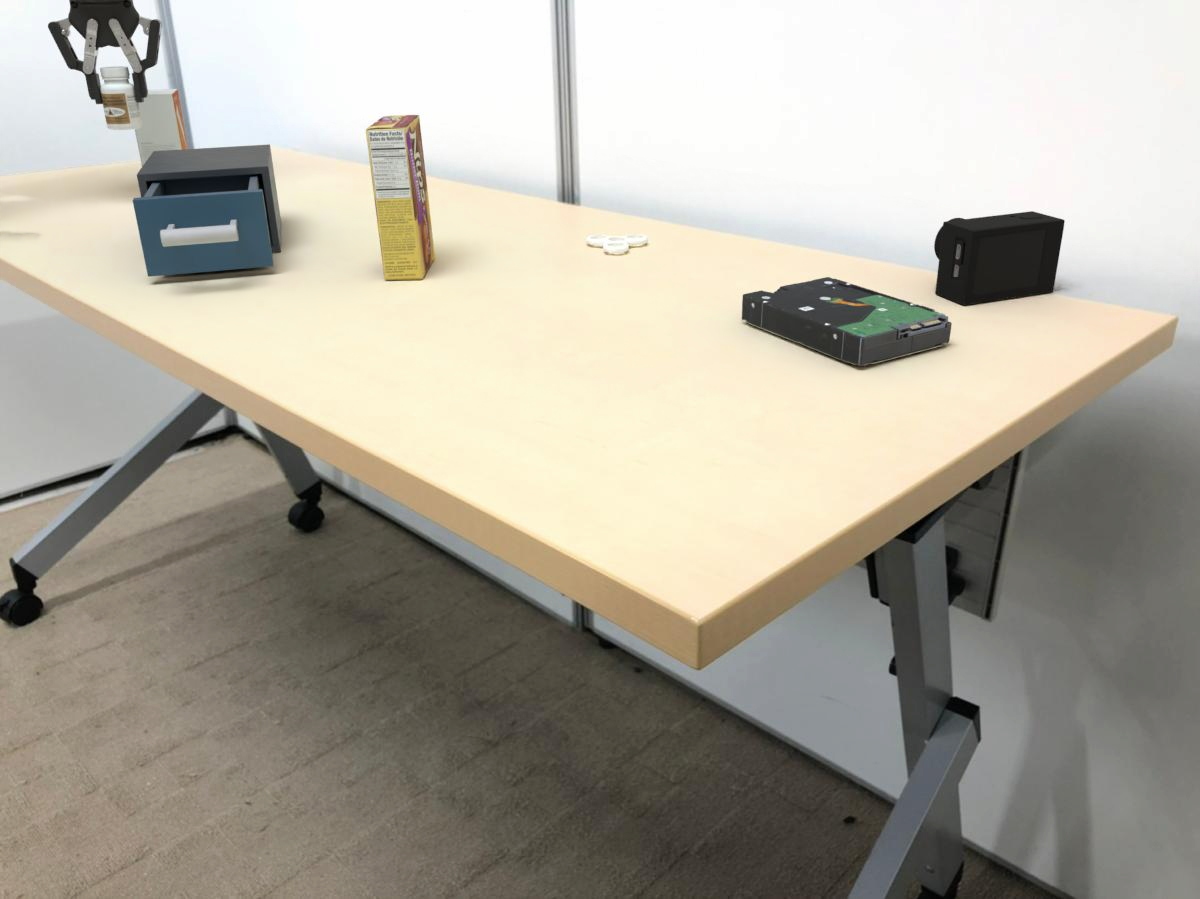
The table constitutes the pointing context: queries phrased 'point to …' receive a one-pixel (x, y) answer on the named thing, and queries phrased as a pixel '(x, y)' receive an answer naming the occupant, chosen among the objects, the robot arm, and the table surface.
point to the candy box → (401, 196)
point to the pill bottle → (119, 99)
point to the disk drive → (846, 320)
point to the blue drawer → (203, 225)
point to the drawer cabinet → (218, 173)
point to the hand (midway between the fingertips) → (120, 102)
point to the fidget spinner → (616, 242)
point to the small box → (160, 123)
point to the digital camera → (997, 257)
